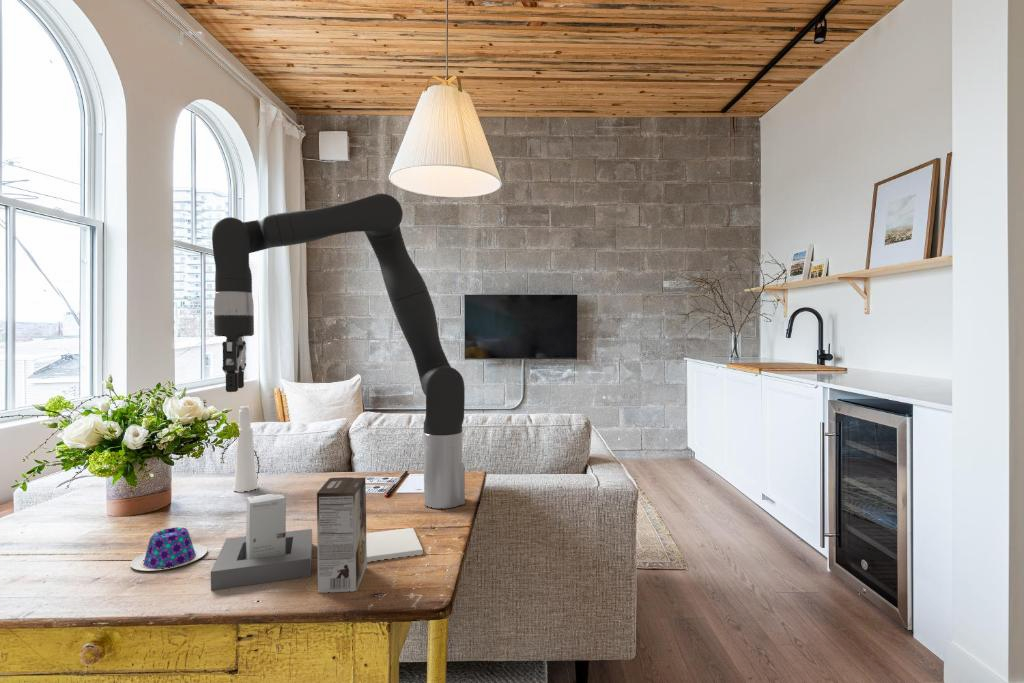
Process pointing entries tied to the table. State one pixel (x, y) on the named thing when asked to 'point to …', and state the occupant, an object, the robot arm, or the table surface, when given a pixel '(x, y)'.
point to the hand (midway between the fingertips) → (235, 389)
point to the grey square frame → (262, 562)
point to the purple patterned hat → (169, 550)
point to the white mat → (392, 544)
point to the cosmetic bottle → (245, 454)
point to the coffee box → (341, 534)
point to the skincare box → (266, 526)
